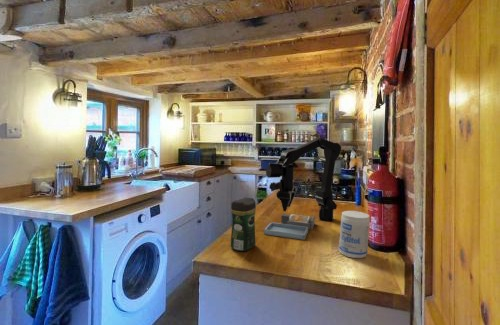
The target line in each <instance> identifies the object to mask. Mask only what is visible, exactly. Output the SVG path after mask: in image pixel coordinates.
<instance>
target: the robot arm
mask: <svg viewBox="0 0 500 325" xmlns="http://www.w3.org/2000/svg"><path fill="white" fill-rule="evenodd" d="M316 149H321V150H323V156H324V159H325V160H324V161H325V162H324V167H323V173H322V180H321V186H320V187H319V189H316V191H315V196H314V198H315V201H316V203H317V205H318V207H320V209H319V211H318V218H319V221H326V222H333V221H334V210H336V209H337V207H338V204H336V202H335V201H334V194H333V191H332V186H333V178H334V173H335V166H336V165H335V164H336V161H337V160H338V158H339V156H340V154H341V152H342V145H341V144H340V143H338V142H333V141H330V140H328V139H325V138H323V137H316V138H314V139H312V140H311V141H308V142H306V143H303V144H302V145H300V146H298V147H296V148H295V147H294V148H290V149H286V150H283V151H282V152H280V153H281V154H280V157H279V158H278V159H277V161H276V162H274V163H272V162H269V163H267V167H266V170H265V174H266V177H267V178H271V179H272V178H274V179H275V178H280V180H279V181H277V182H275V181H273V182H270V185H269V189H270V191H271V192H274V191H277V190H278V191H277V192H276V198H277V199H278V200H280V204H281V206H282V211H283V212H286V211H287V210H288V208H289V207H290V208H291V205H292V202H293V201H294V198H295V196H296V194H297V191H298V189H297V188H298V187H297V186H296V185H294V182H295V169H296V168H299V166H298V165H297V163H296V162H297V161H298V160H299V159H300V158H301V157H302V156H304V155H306V154H307V153H310V152H312V151H314V150H316Z"/></svg>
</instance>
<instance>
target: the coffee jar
mask: <svg viewBox="0 0 500 325" xmlns="http://www.w3.org/2000/svg"><path fill="white" fill-rule="evenodd" d="M256 208H257V205H256V200H255V199H254V198H253V197H248V196H246V197H245V196H244V197H243V198H238V199H237V200H233V201H232V202H231V203H230V211H231V233H230V248H231V249H232V250H234V251H237V252H247V251H249V250H251V249H252V248H254V247H255V245H256V221H255V220H256V219H255V216H256Z"/></svg>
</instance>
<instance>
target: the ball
mask: <svg viewBox="0 0 500 325" xmlns="http://www.w3.org/2000/svg"><path fill="white" fill-rule="evenodd" d="M295 221H300V222H302V218H301V217H300V216H298V217H296V218H295Z"/></svg>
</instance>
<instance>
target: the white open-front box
mask: <svg viewBox="0 0 500 325" xmlns="http://www.w3.org/2000/svg"><path fill="white" fill-rule="evenodd" d="M298 216H300V217H301V218H302V222H303V223H310V219H311V216H309V215H300V214H293V213H292V214H285V213H282V214H281V217H280V218H281V220H280V222H281V224H287V221H295V218H296V217H298ZM295 222H300V221H295Z"/></svg>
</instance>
